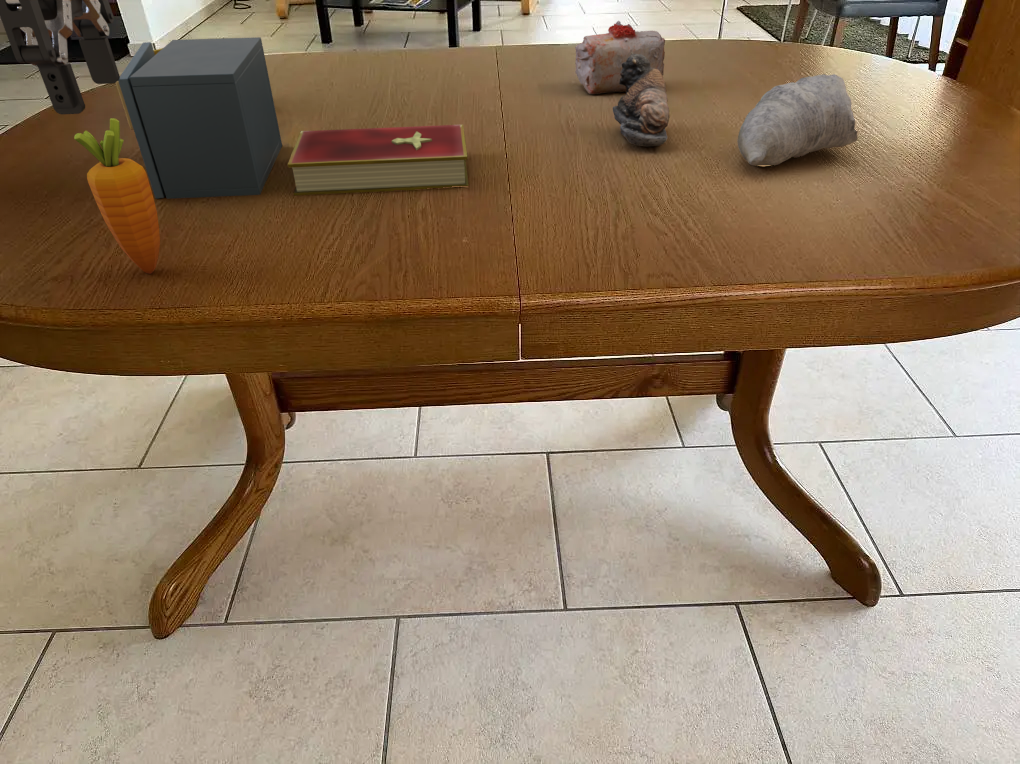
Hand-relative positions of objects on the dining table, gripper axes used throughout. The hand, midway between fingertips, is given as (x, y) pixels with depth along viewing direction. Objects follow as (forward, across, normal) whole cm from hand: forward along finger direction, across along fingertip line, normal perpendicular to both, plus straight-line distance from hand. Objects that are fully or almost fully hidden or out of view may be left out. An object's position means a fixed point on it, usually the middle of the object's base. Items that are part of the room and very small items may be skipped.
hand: (90, 97), depth 64 cm
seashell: (+18, -23, +75) cm, 80 cm away
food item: (+18, -57, +59) cm, 84 cm away
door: (+17, -27, -8) cm, 32 cm away
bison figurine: (+18, -33, +57) cm, 68 cm away
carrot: (+17, 0, 0) cm, 17 cm away
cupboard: (+17, -27, +2) cm, 32 cm away
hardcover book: (+17, -24, +22) cm, 37 cm away
